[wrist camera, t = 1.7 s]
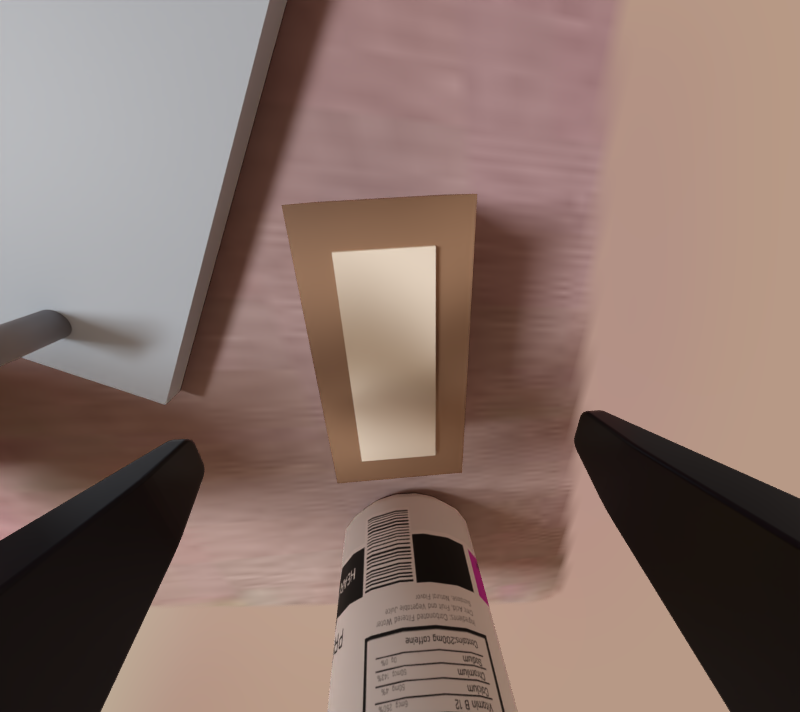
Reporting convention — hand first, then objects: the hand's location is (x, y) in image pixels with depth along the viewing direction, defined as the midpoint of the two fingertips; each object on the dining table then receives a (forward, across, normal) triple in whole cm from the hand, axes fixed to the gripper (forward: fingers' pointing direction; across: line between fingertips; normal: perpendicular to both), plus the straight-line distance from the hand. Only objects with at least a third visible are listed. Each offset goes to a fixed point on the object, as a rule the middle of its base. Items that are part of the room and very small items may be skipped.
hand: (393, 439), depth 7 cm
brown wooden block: (+8, 0, 0) cm, 8 cm away
